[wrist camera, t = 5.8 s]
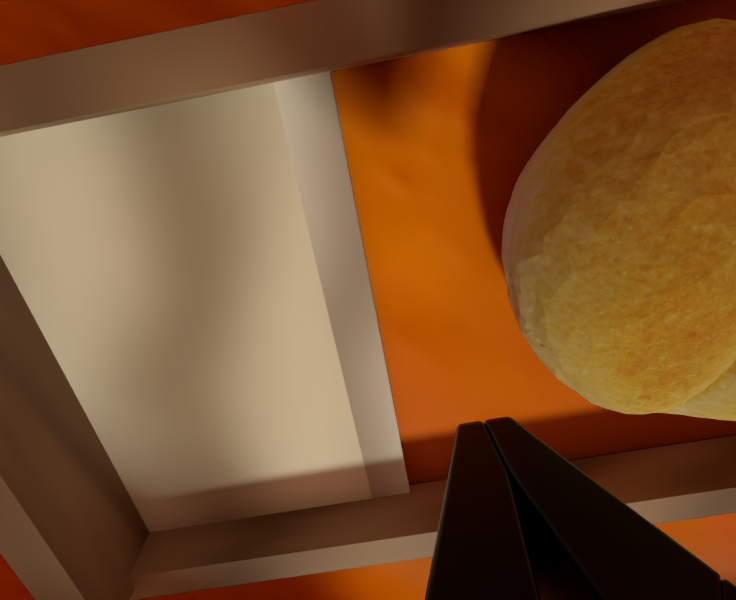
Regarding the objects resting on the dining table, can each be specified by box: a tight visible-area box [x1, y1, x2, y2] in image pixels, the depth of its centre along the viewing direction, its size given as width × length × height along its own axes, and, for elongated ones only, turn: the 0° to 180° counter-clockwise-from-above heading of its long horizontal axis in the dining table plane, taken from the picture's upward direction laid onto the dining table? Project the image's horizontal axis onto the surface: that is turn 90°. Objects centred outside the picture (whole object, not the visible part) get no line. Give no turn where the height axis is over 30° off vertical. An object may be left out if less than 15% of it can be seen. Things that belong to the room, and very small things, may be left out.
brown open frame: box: [0, 0, 736, 600], centre depth 10 cm, size 25×14×3 cm, turn 100°
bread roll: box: [501, 18, 736, 421], centre depth 9 cm, size 8×9×4 cm
